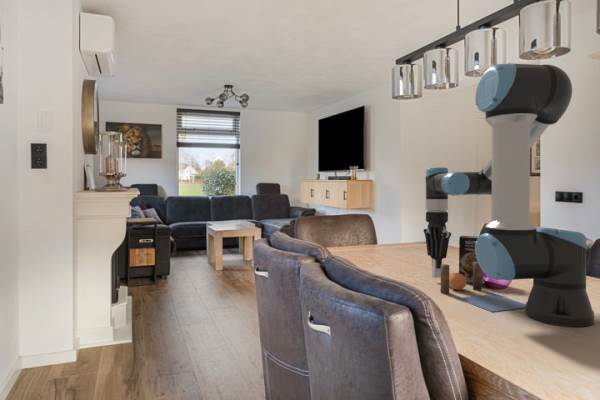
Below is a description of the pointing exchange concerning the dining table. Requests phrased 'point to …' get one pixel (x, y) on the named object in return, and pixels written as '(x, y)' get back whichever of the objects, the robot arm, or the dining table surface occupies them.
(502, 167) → the robot arm
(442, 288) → the post left
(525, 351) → the dining table surface
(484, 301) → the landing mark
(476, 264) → the post right
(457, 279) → the ball
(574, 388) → the dining table surface
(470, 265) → the coffee box
